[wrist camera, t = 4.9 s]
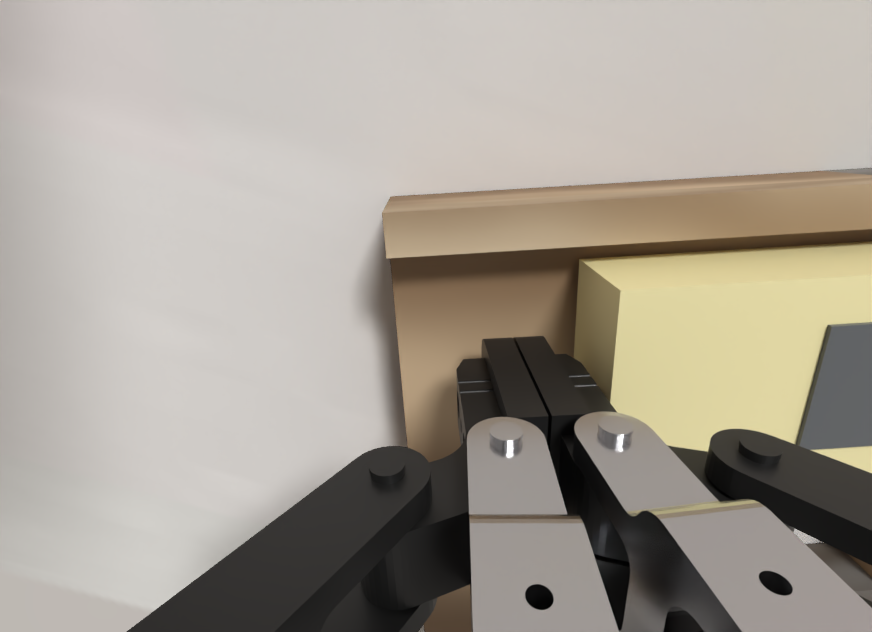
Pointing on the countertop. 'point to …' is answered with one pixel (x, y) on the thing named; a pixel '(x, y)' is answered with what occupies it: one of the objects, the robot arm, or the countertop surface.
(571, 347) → the board
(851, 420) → the stud finder
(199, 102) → the countertop surface
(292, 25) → the countertop surface
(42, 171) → the countertop surface
